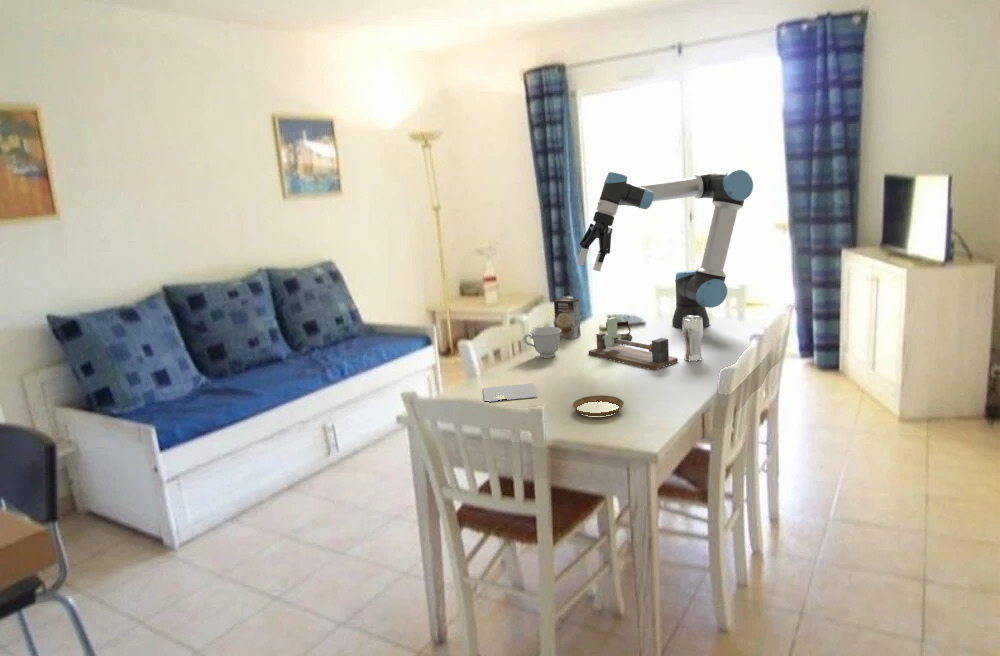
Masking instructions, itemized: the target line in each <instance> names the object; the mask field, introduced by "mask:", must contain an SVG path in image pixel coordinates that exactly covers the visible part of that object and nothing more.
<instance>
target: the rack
mask: <svg viewBox="0 0 1000 656" xmlns="http://www.w3.org/2000/svg"><path fill="white" fill-rule="evenodd" d="M605 334H607V333H606V332H599V333H596V337H595V338H596V348H593V349H590V350H588V355H589V356H592V355H594V356H593V357H597V356H598V358H601V357H602V358H601V359H605V358H606V359H605V360H609V359H611V361H614V360H615V361H614V362H618V361H620V362H619V363H622V362H624V363H623V364H626V363H628V364H627V365H630V364H632V366H635V365H636V367H639V366H640V367H639V368H643V367H645V368H644V369H647V368H649V369H648V370H652V369H654V370H653V371H656V370H655V369H657V370H659V369H658V368H660V369H662V368H661V367H663V366H665V367H667V366H666V365H668V366H670V365H669V364H671V365H673V364H672V363H674V362H677V361H678V362H679V359H678V357H675V356H670V354H669V339H668V338H664V337H659V338H657V339H653V340H651V343H650V344H646V343H640V342H636V341H632V340H631V341H626V340H621V339H617V338H614V342H615V343H619V344H621V345H619V346H615V347H608V346H605V339H604V336H605ZM623 345H624V346H623ZM625 345H626V346H625ZM628 346H629V347H628ZM632 347H634V348H632ZM637 348H638V349H637ZM639 348H640V349H639ZM642 349H644V350H642ZM647 350H648V351H647ZM678 362H677V363H678ZM674 364H675V363H674ZM663 368H664V367H663Z"/></svg>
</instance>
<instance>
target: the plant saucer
mask: <svg viewBox="0 0 1000 656" xmlns="http://www.w3.org/2000/svg"><path fill="white" fill-rule="evenodd" d="M597 401H598V402H600V401H602V402H609V403H612V404H616V405H618V406H619V408H618V409H616V410H613V411H609V412H601V413H590V412H583V411H579V410H577V407H578V406H580V405H582V404H584V403H588V402H597ZM623 406H624V400H623V399H621V398H619V397H616V396H612V395H597V394H595V395H590V396H585V397H584V396H583V397H582V398H579V399H577V400H574V402H573V403H572V407H573V409H574V410H575V411H576V412H577V413H578V414H580V415H581V414H583V415H588V416H606V415H611V414H614V413H616V412H617V413H618V412H619V411H620V410H621V409H622V408H623ZM617 413H616V414H617ZM583 415H582V416H583ZM614 415H615V414H614Z"/></svg>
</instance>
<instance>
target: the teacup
mask: <svg viewBox="0 0 1000 656" xmlns="http://www.w3.org/2000/svg"><path fill="white" fill-rule="evenodd" d="M561 331H562V330H561V329H560V328H557V327H555V326H543V327H542V326H541V327H537V328H533V329H531V330H530V331H529V333H526V334H524V336H523V341H524V343H525V344H526V345H527V346H530V347H533V348H534V349H535V351H536V352H537V353H538V354H539V357H540V358H542V357H544V358H543V359H550V358H549V357H551V358H553V357H555V356H556V352H558V350H559V348H560V339H561V338H560V332H561ZM528 337H529V338H530V340H533V343H530V342H529V341H527V338H528Z"/></svg>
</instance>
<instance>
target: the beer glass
mask: <svg viewBox="0 0 1000 656" xmlns="http://www.w3.org/2000/svg"><path fill="white" fill-rule="evenodd" d="M681 330H682V338H683V343H684V352H685V353H684V360H685V361H686V360H690V361H689V362H691V361H696V360H700V359H702V360H703V356H702V355H703V354H702V341H703V337H704V336H703V335H704V327H703V321H702V317H700V316H686V317H683V325H682V328H681ZM700 361H701V360H700ZM696 362H697V361H696Z"/></svg>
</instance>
